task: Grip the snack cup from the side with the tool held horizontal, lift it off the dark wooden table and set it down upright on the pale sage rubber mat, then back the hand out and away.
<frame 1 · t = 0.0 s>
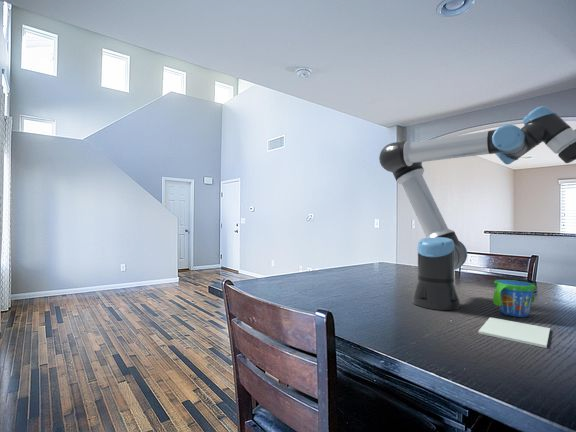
snack cup: (514, 315, 101), on the table
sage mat: (514, 331, 85), on the table
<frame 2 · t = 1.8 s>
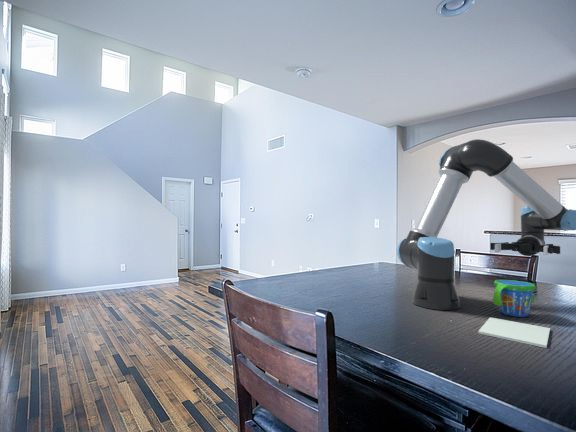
hand: (519, 249, 108), 20 cm above the table, tool horizontal, fingers open, 13 cm apart
nothing on the table moved.
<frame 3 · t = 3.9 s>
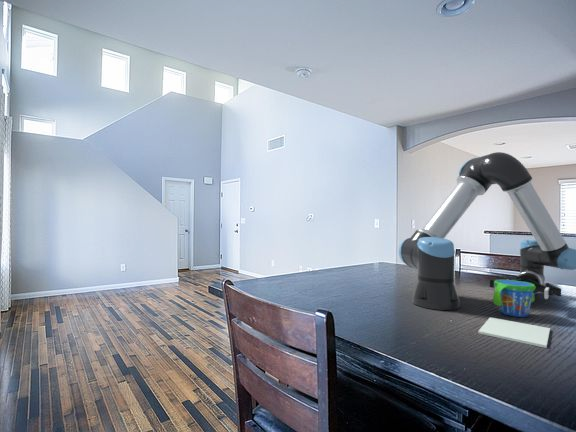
hand: (519, 291, 105), 6 cm above the table, tool horizontal, fingers open, 13 cm apart
nothing on the table moved.
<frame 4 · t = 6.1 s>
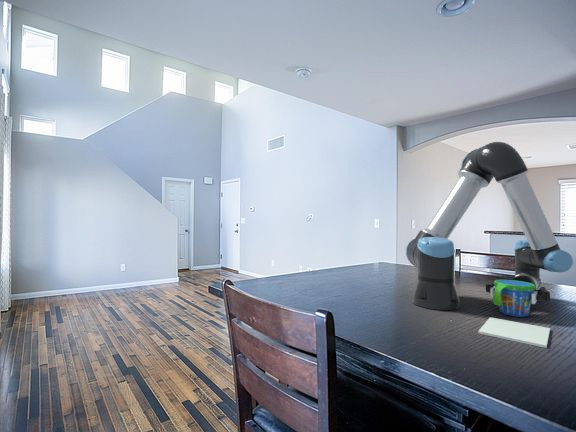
hand: (511, 296, 98), 7 cm above the table, tool horizontal, fingers closed on snack cup, 10 cm apart
snack cup: (514, 314, 101), on the table, touching gripper
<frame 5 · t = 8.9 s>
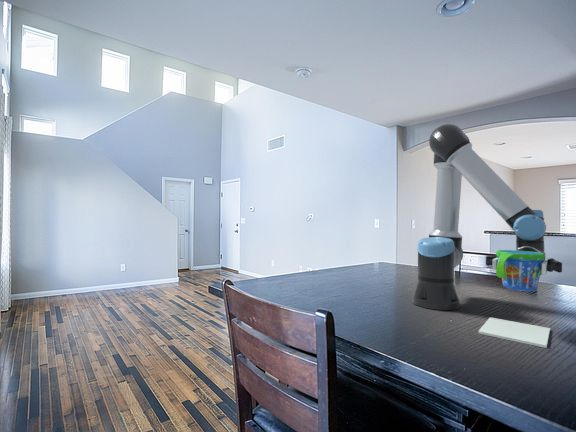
hand: (517, 266, 83), 18 cm above the table, tool horizontal, fingers closed on snack cup, 10 cm apart
snack cup: (519, 289, 86), point 11 cm above the table, touching gripper
when the fingers open (8 cm above the table, at t = 11.5 s): snack cup moves 3 cm, resting on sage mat.
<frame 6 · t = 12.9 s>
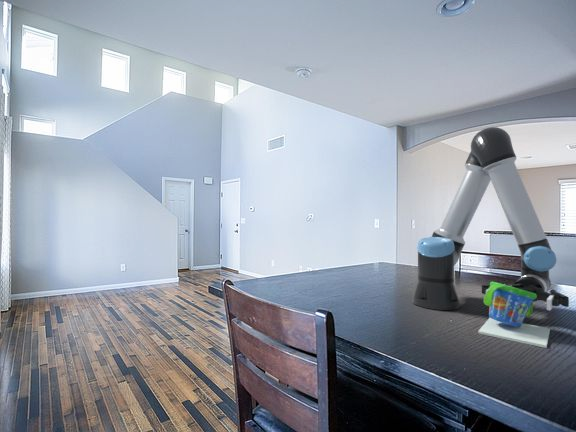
hand: (516, 299, 85), 8 cm above the table, tool horizontal, fingers open, 13 cm apart
snack cup: (503, 323, 88), point 1 cm above the table, touching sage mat
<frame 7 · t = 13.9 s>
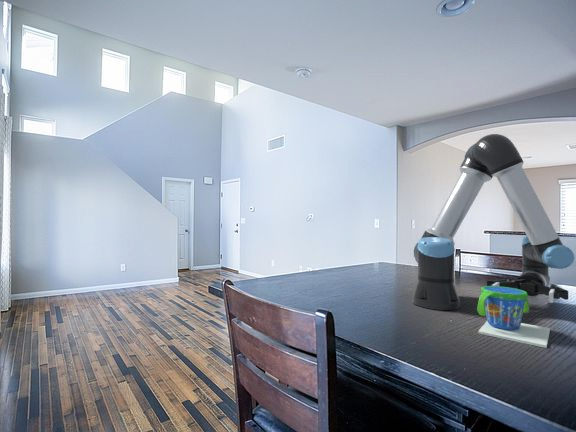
hand: (520, 293, 92), 9 cm above the table, tool horizontal, fingers open, 13 cm apart
snack cup: (503, 326, 88), resting on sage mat
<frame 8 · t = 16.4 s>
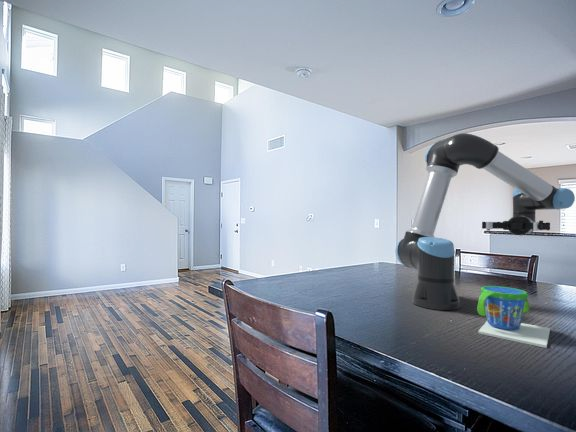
hand: (509, 226, 109), 28 cm above the table, tool horizontal, fingers open, 13 cm apart
nothing on the table moved.
at the end: snack cup inside the target area on the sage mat (2.9 cm from its centre), point 0.4 cm above the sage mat's base; snack cup tilted 0°; the gripper is holding nothing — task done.
